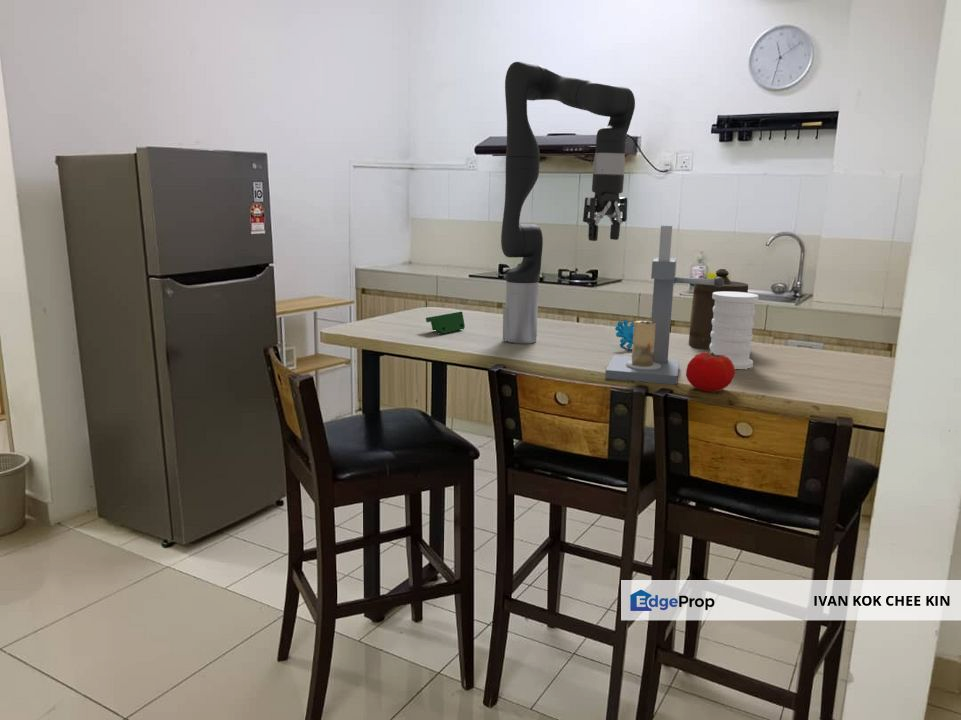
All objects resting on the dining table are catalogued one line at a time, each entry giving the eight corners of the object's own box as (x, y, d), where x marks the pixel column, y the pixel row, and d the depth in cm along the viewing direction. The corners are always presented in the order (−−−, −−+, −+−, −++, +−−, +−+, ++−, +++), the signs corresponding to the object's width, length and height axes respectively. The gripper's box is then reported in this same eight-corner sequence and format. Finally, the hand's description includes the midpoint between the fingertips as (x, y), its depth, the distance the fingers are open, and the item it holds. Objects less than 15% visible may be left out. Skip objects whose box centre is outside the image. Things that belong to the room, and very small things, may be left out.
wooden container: (733, 341, 215) (741, 267, 210) (749, 352, 201) (757, 272, 196) (683, 340, 216) (689, 266, 211) (695, 350, 201) (702, 271, 197)
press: (605, 378, 169) (613, 225, 161) (613, 362, 184) (622, 222, 177) (716, 388, 162) (731, 228, 154) (715, 371, 178) (728, 225, 170)
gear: (624, 347, 196) (613, 317, 201) (612, 359, 201) (601, 329, 206) (656, 349, 201) (644, 320, 206) (643, 361, 206) (632, 332, 211)
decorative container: (699, 359, 191) (705, 290, 187) (743, 359, 191) (750, 291, 187) (712, 369, 180) (719, 297, 176) (759, 370, 179) (767, 297, 176)
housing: (630, 365, 171) (633, 322, 168) (632, 361, 175) (635, 319, 173) (652, 367, 169) (655, 324, 167) (653, 362, 174) (656, 320, 172)
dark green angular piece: (449, 343, 228) (451, 315, 230) (463, 341, 224) (465, 313, 226) (422, 333, 219) (425, 304, 221) (436, 330, 215) (439, 301, 217)
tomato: (678, 384, 165) (681, 348, 163) (723, 384, 165) (726, 348, 163) (693, 395, 155) (696, 357, 154) (740, 395, 156) (743, 357, 154)
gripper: (602, 172, 169) (597, 242, 173) (638, 173, 179) (633, 240, 183) (577, 171, 175) (573, 239, 179) (614, 173, 184) (609, 237, 188)
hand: (603, 240), depth 181 cm, fingers open, 8 cm apart
